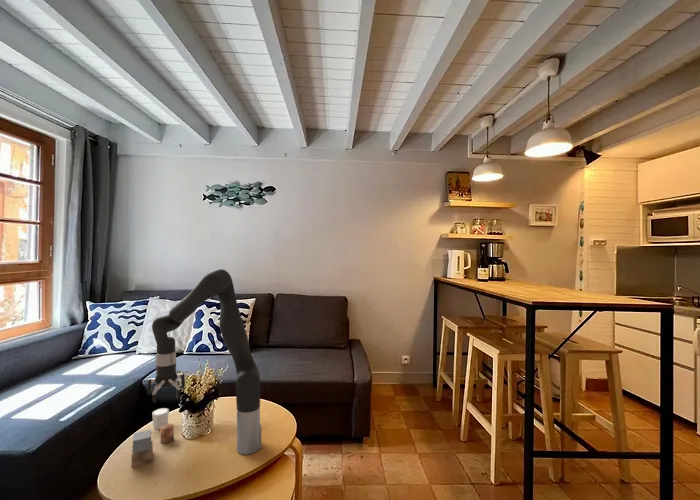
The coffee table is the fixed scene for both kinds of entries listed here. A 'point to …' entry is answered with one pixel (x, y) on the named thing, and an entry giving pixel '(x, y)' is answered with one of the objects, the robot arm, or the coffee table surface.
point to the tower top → (141, 441)
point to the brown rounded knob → (167, 433)
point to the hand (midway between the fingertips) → (166, 400)
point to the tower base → (142, 457)
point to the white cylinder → (160, 417)
